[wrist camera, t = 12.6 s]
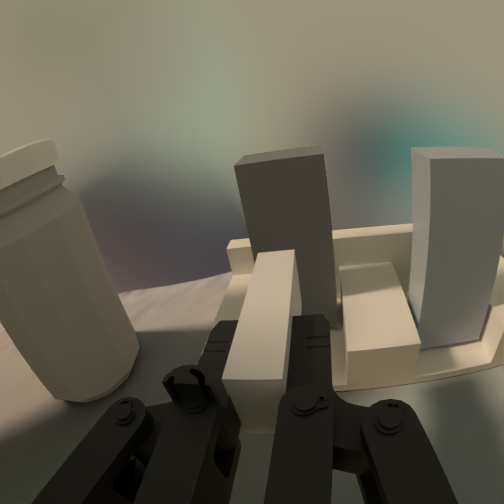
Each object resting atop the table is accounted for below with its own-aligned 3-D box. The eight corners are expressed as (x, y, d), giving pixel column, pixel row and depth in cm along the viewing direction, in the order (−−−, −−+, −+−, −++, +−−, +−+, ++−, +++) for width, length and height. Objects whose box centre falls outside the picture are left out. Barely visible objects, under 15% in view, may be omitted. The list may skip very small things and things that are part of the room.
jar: (32, 391, 21) (-69, 201, 13) (90, 326, 29) (21, 156, 21) (104, 427, 17) (-37, 168, 9) (165, 338, 25) (89, 122, 18)
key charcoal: (337, 326, 21) (323, 153, 16) (268, 330, 23) (233, 165, 17) (335, 301, 24) (321, 145, 19) (273, 305, 25) (244, 155, 20)
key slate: (478, 338, 16) (510, 158, 11) (413, 349, 18) (429, 158, 12) (464, 311, 19) (483, 147, 14) (405, 320, 20) (411, 147, 15)
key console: (594, 332, 12) (619, 269, 9) (216, 391, 19) (188, 324, 17) (542, 268, 21) (554, 213, 18) (245, 300, 28) (230, 240, 26)
